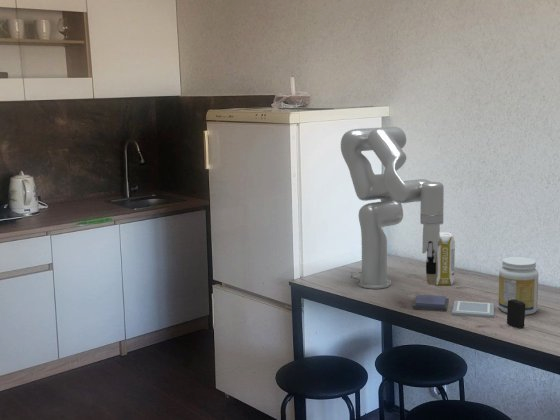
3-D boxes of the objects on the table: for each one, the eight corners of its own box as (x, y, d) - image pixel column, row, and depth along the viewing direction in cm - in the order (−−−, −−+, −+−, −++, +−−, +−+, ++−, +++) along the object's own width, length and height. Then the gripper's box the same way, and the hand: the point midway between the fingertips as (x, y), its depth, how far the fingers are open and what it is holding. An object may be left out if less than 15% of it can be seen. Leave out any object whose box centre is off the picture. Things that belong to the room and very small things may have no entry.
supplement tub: (506, 302, 231) (507, 254, 228) (542, 308, 224) (544, 259, 221) (492, 311, 222) (493, 261, 219) (529, 318, 214) (531, 267, 211)
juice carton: (451, 279, 261) (452, 231, 257) (454, 285, 252) (455, 236, 249) (431, 279, 261) (432, 231, 258) (434, 285, 253) (435, 236, 250)
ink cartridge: (524, 327, 206) (525, 302, 205) (519, 329, 205) (520, 304, 204) (511, 322, 211) (513, 298, 209) (506, 324, 210) (507, 299, 208)
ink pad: (412, 309, 227) (412, 303, 226) (416, 299, 237) (416, 293, 237) (446, 311, 223) (446, 305, 223) (448, 301, 234) (448, 295, 233)
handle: (432, 287, 225) (432, 243, 222) (420, 282, 230) (420, 240, 228) (443, 284, 227) (444, 241, 225) (431, 280, 233) (431, 238, 230)
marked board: (452, 314, 220) (452, 311, 220) (454, 302, 232) (454, 300, 232) (493, 317, 216) (493, 314, 216) (493, 305, 228) (493, 302, 228)
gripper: (422, 214, 234) (422, 265, 237) (417, 223, 218) (417, 277, 221) (445, 214, 232) (444, 266, 235) (441, 223, 216) (441, 279, 219)
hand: (431, 271), depth 228 cm, fingers closed on handle, 4 cm apart
